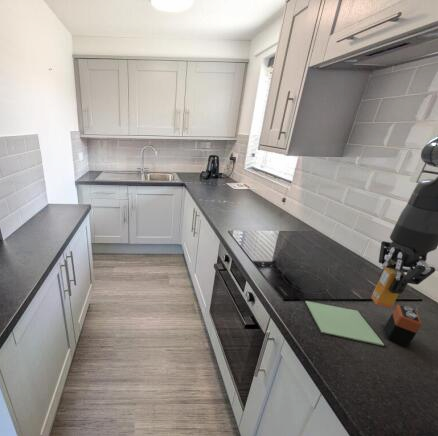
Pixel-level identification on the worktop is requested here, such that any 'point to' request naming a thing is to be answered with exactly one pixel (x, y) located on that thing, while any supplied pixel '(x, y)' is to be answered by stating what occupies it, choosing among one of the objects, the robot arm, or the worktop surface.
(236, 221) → the worktop surface
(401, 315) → the battery
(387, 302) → the supplement box
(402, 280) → the robot arm
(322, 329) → the sticky note pad
